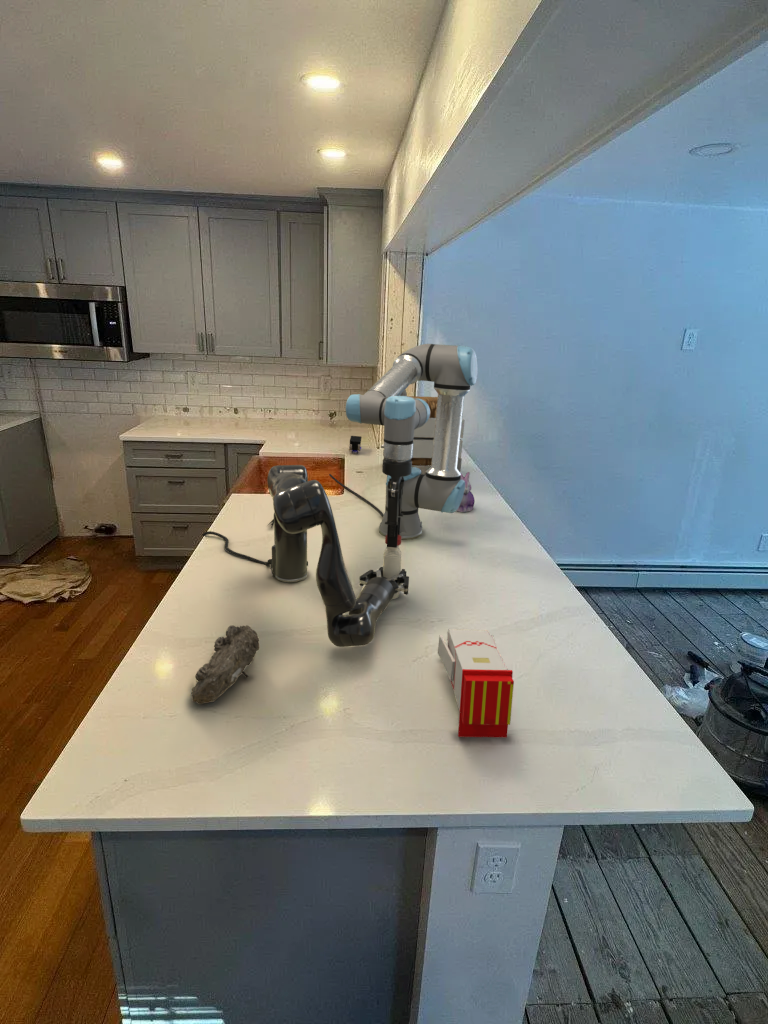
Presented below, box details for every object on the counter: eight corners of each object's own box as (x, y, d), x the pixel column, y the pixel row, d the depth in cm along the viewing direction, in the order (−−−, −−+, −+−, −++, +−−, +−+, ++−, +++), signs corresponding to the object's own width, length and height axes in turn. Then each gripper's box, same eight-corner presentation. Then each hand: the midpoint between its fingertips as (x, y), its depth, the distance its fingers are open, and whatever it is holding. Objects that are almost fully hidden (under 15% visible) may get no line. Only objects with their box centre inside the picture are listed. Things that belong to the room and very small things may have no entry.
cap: (382, 544, 151) (383, 538, 150) (388, 538, 155) (388, 532, 154) (397, 547, 149) (398, 541, 149) (403, 541, 153) (403, 535, 153)
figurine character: (361, 457, 304) (361, 447, 317) (361, 444, 301) (362, 434, 314) (348, 456, 304) (349, 447, 317) (348, 443, 300) (349, 434, 314)
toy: (488, 613, 130) (523, 677, 101) (484, 667, 133) (517, 744, 104) (435, 612, 130) (455, 676, 101) (432, 666, 133) (451, 743, 103)
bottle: (402, 595, 157) (406, 539, 152) (390, 600, 154) (393, 543, 148) (390, 589, 160) (393, 533, 155) (377, 594, 157) (380, 538, 152)
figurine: (461, 514, 221) (464, 477, 216) (446, 506, 230) (449, 470, 225) (480, 511, 226) (484, 475, 221) (466, 503, 234) (469, 468, 229)
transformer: (382, 463, 289) (386, 382, 275) (445, 464, 293) (451, 384, 279) (390, 482, 257) (394, 392, 243) (460, 483, 261) (468, 394, 247)
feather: (287, 506, 225) (290, 502, 224) (270, 530, 198) (272, 526, 198) (283, 504, 225) (286, 500, 224) (265, 527, 198) (268, 523, 197)
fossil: (211, 627, 129) (258, 597, 124) (240, 656, 132) (287, 627, 127) (170, 698, 110) (224, 665, 105) (204, 729, 113) (259, 699, 108)
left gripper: (402, 589, 139) (420, 562, 154) (348, 579, 143) (370, 553, 158) (401, 616, 142) (418, 586, 157) (347, 605, 145) (369, 577, 161)
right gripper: (387, 449, 153) (383, 530, 160) (377, 466, 136) (374, 554, 144) (415, 451, 152) (410, 532, 160) (408, 468, 136) (403, 557, 143)
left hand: (394, 570), depth 157 cm, fingers closed on bottle, 5 cm apart
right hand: (393, 543), depth 152 cm, fingers closed on cap, 4 cm apart
